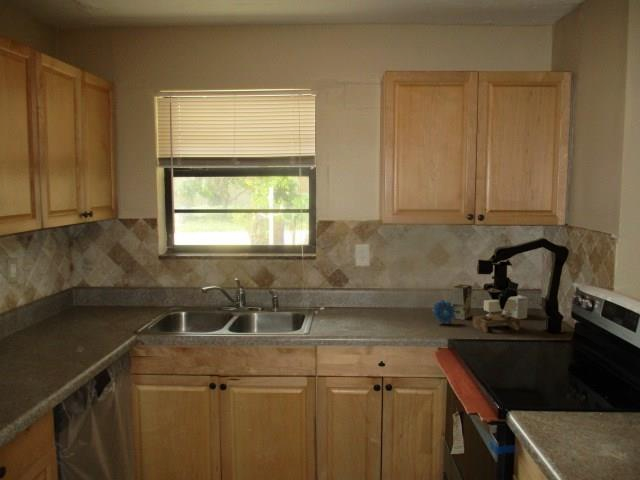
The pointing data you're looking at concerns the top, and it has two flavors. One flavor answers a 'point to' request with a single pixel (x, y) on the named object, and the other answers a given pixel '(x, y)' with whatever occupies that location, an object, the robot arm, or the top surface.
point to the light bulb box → (519, 307)
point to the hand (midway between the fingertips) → (499, 308)
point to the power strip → (495, 306)
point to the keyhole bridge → (495, 321)
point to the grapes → (444, 311)
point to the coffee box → (462, 301)
